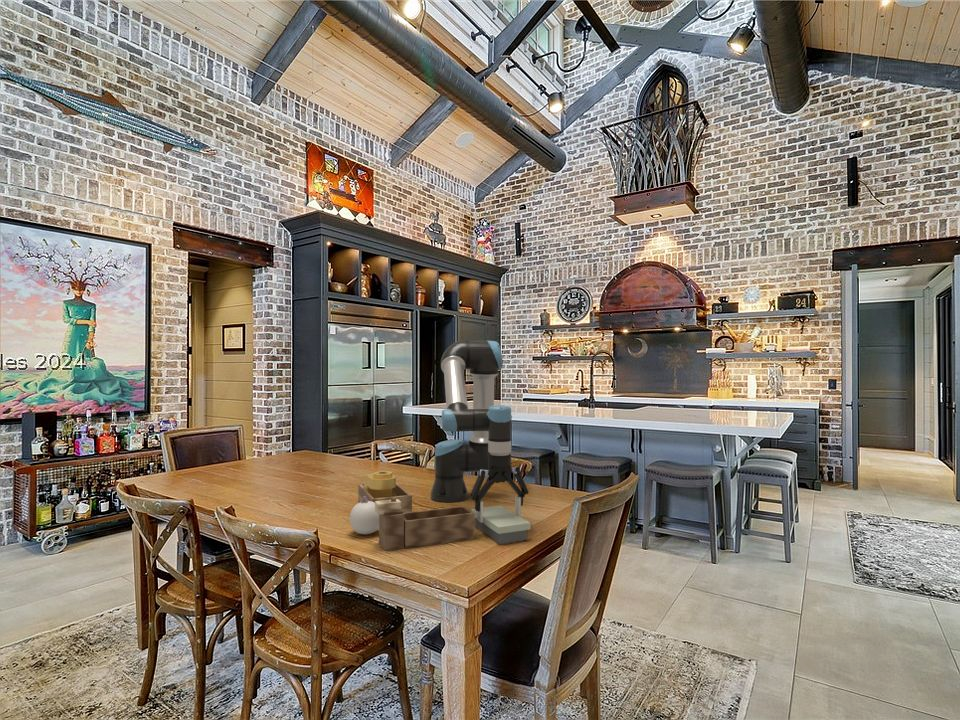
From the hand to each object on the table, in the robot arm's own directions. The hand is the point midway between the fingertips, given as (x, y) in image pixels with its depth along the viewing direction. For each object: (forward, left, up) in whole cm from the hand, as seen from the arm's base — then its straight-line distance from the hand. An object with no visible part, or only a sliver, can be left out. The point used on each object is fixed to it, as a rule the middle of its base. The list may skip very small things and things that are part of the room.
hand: (499, 518), depth 166 cm
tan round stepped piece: (+31, -36, -5) cm, 48 cm away
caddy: (+30, -35, -4) cm, 46 cm away
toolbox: (+24, -2, -4) cm, 25 cm away
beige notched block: (+36, -2, +6) cm, 37 cm away
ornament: (+40, -16, -5) cm, 43 cm away
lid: (0, 0, -1) cm, 1 cm away
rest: (0, 0, -4) cm, 4 cm away
